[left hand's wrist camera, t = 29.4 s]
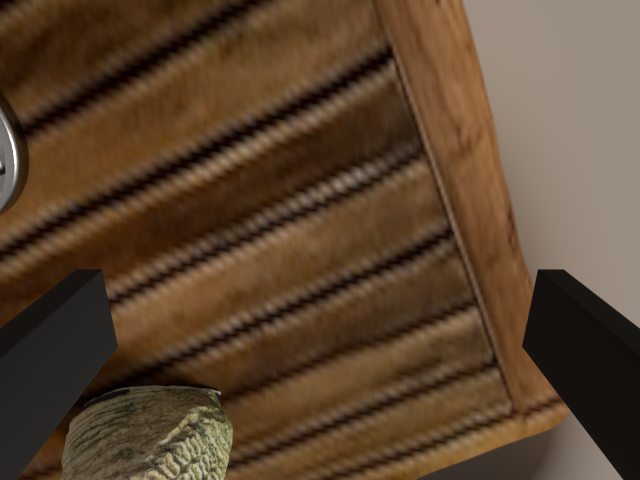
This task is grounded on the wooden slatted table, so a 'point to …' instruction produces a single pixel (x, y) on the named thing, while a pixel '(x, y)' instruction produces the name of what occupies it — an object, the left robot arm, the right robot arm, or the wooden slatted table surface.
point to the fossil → (149, 436)
